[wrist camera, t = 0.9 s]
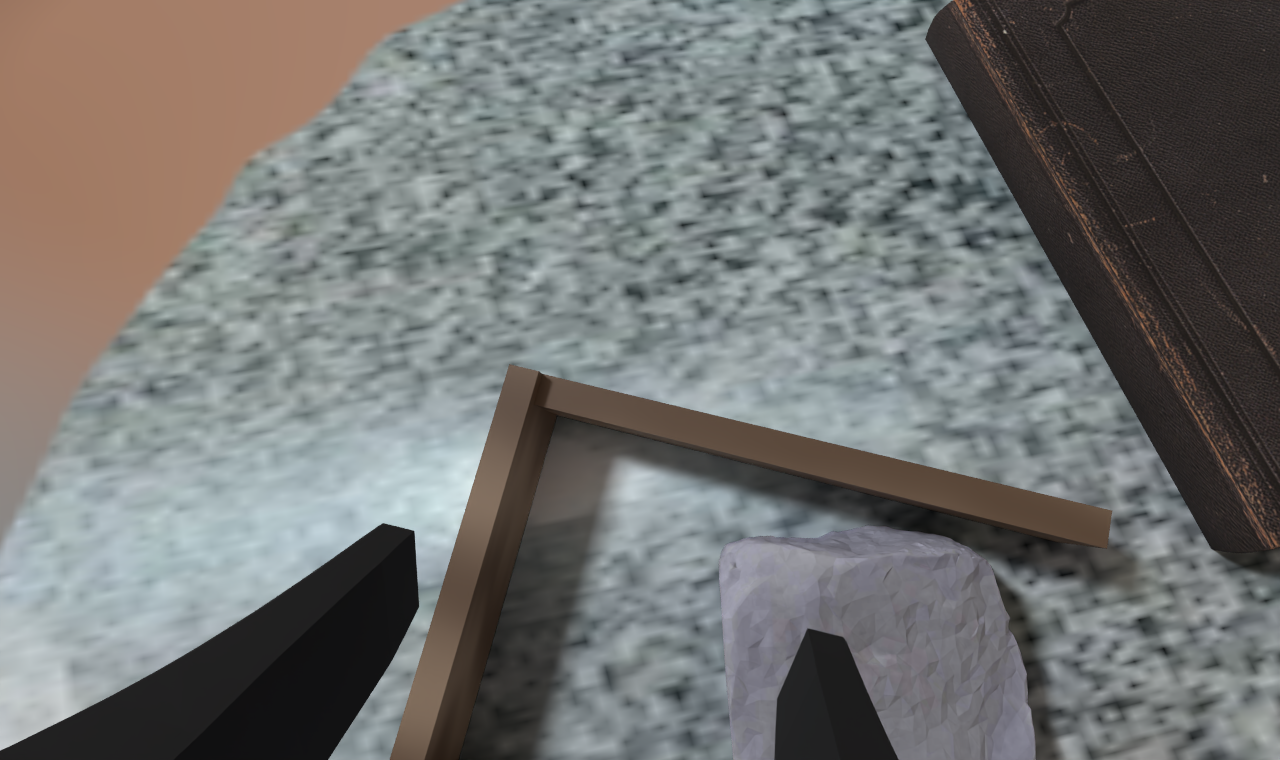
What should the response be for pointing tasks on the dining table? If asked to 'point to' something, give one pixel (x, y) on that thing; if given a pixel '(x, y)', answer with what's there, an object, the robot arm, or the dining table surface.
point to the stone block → (878, 639)
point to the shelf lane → (537, 399)
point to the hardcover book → (1152, 212)
